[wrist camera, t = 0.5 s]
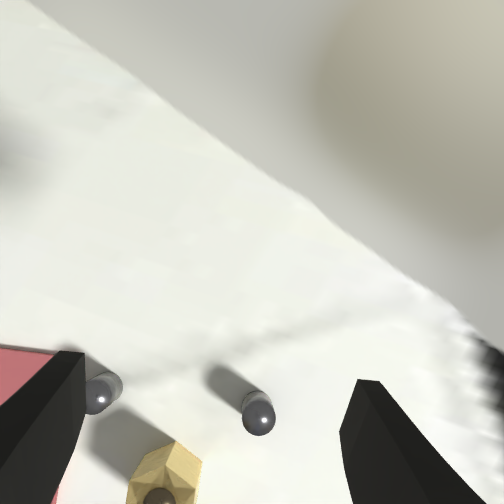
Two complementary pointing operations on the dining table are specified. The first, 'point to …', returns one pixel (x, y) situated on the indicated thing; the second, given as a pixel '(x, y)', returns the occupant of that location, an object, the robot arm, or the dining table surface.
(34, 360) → the red mat
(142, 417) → the dining table surface
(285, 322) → the dining table surface
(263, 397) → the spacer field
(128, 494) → the brass nut
